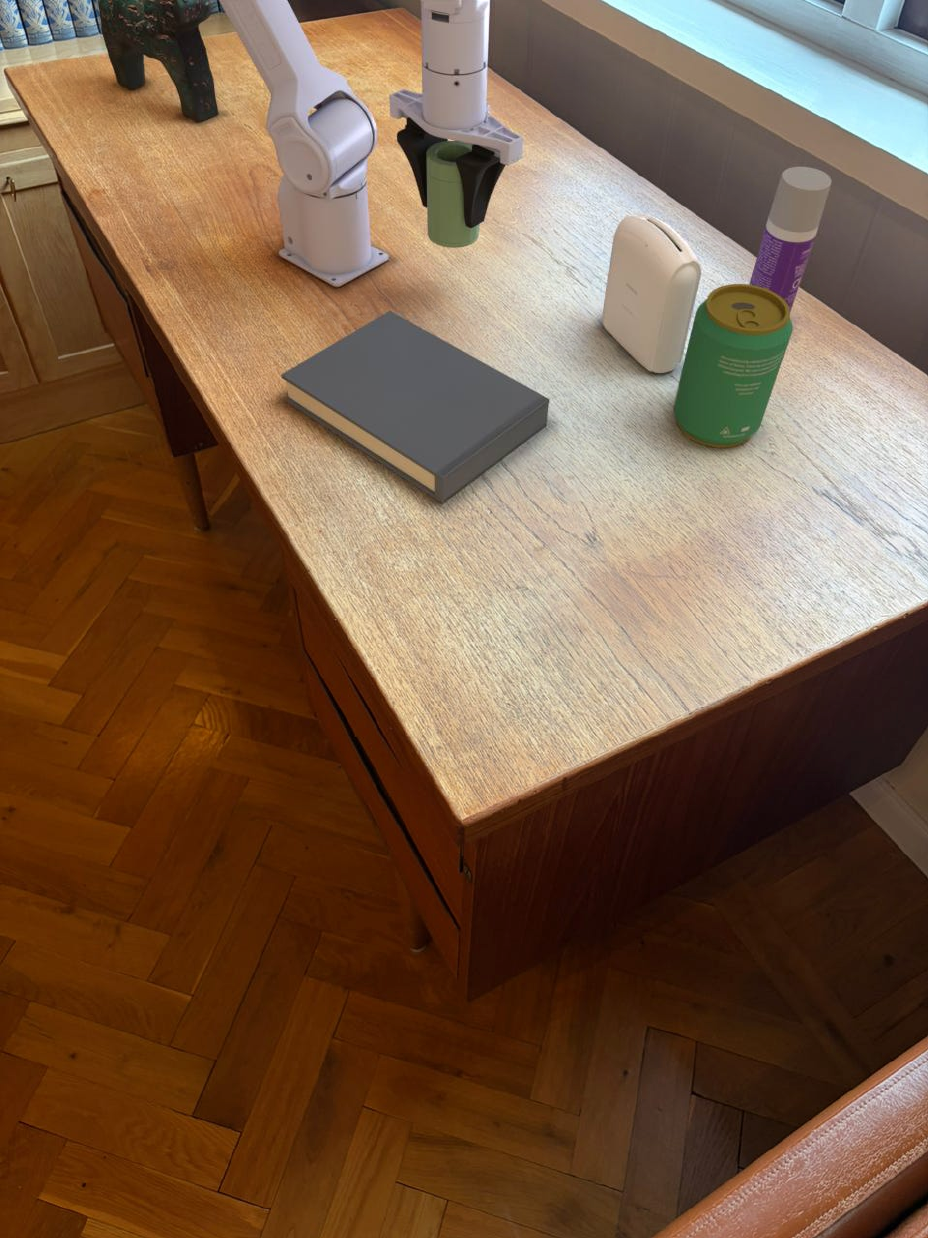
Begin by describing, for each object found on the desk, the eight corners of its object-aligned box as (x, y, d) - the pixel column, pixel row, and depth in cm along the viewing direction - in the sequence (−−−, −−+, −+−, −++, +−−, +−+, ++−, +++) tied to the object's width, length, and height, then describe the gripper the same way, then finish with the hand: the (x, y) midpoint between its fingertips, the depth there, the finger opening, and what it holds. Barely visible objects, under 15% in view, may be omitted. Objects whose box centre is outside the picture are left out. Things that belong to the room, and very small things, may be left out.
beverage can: (748, 394, 89) (784, 279, 79) (767, 450, 84) (808, 335, 74) (664, 394, 89) (691, 279, 79) (678, 450, 84) (708, 335, 74)
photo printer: (594, 323, 96) (611, 205, 86) (630, 313, 97) (650, 196, 87) (649, 379, 90) (674, 261, 80) (686, 368, 91) (715, 250, 82)
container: (785, 338, 95) (834, 193, 83) (739, 332, 95) (780, 187, 83) (785, 312, 98) (832, 168, 86) (739, 306, 98) (780, 162, 86)
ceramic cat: (233, 116, 124) (204, -65, 108) (195, 132, 121) (158, -52, 105) (140, 73, 132) (100, -101, 116) (102, 87, 129) (55, -90, 113)
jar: (417, 234, 93) (415, 153, 87) (451, 215, 96) (451, 135, 89) (455, 253, 91) (456, 171, 85) (489, 233, 94) (492, 152, 87)
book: (285, 401, 87) (280, 374, 85) (391, 336, 94) (389, 310, 91) (443, 504, 79) (442, 477, 77) (546, 425, 86) (549, 398, 83)
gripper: (549, 71, 80) (537, 223, 91) (424, 26, 86) (426, 174, 96) (496, 97, 77) (490, 252, 87) (370, 48, 82) (378, 199, 93)
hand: (453, 213), depth 92 cm, fingers closed on jar, 5 cm apart
